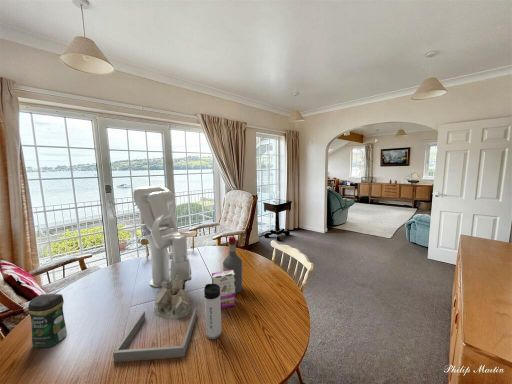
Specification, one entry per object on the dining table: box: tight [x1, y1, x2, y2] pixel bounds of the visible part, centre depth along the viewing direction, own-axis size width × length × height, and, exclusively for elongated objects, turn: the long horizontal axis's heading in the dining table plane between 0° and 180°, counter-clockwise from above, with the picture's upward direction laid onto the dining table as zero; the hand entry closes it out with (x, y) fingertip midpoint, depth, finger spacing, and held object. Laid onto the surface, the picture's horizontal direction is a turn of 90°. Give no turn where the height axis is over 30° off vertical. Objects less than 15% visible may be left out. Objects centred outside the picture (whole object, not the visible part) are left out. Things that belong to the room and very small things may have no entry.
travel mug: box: [203, 283, 222, 340], centre depth 83 cm, size 6×7×20 cm
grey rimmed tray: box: [112, 307, 198, 363], centre depth 83 cm, size 22×24×4 cm
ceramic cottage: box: [154, 275, 191, 320], centre depth 98 cm, size 16×16×15 cm
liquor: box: [222, 236, 244, 294], centre depth 114 cm, size 9×9×30 cm
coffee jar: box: [27, 293, 68, 348], centre depth 80 cm, size 10×8×19 cm
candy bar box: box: [211, 270, 237, 309], centre depth 101 cm, size 11×5×16 cm, turn 105°
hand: (182, 290), depth 112 cm, fingers closed
